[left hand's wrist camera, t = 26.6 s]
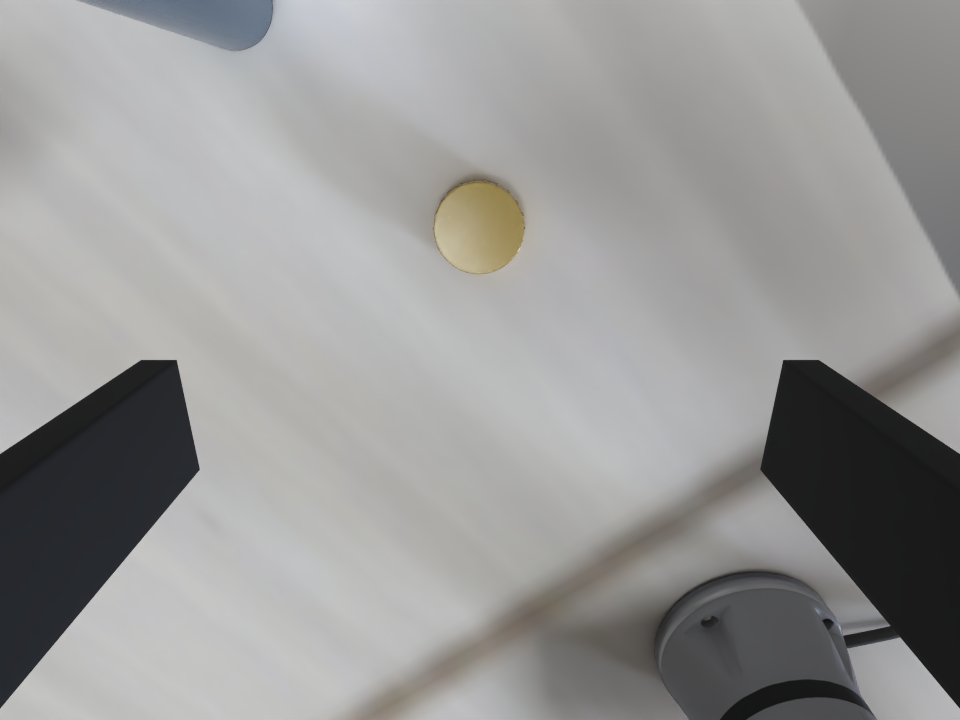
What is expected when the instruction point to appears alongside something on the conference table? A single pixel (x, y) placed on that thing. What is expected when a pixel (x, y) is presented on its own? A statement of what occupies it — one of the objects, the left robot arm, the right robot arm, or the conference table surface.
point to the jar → (200, 18)
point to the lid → (478, 227)
